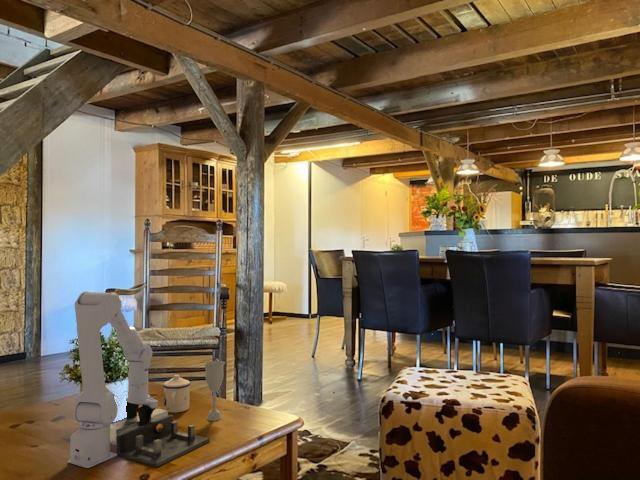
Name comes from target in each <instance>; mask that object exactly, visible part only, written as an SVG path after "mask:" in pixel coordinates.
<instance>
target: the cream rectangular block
mask: <svg viewBox="0 0 640 480" xmlns="http://www.w3.org/2000/svg"><path fill="white" fill-rule="evenodd" d="M166 416H169V412H168V410H164V408H163V409H162V408H155V410H154V411H153V413H152V415H151V417H150V420H149V423H150V422H153V421H156V420H158V419H161V418H163V417H166ZM137 427H140V420H139V415H138V414H137V416H135V417H133V418H130V419H125V420H124V419H123V420H121V421H119V422H117V423H114V424H113V423H112V424H110V445H113V446H117V435H119V434H122V433H124V432H127V431H130V430H132V429H135V428H137Z"/></svg>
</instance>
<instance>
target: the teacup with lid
mask: <svg viewBox="0 0 640 480" xmlns="http://www.w3.org/2000/svg"><path fill="white" fill-rule="evenodd" d="M190 385H191V382H190V380H188V379H185V378H183V377H181V376H180V374H175V375H173V377H172V378H170V379H169V380H166V381H165V382H164V383H163V385H162V387H163V410H168V413H181V412H185V411H188V410H189V408H190Z"/></svg>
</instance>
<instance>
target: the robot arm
mask: <svg viewBox="0 0 640 480" xmlns="http://www.w3.org/2000/svg"><path fill="white" fill-rule="evenodd" d="M121 309H122V300H121V297H120V296H119V295H118V293H116V292H114V291H112V292H97V291H96V292H93V291H91V292H90V291H82V292H81V293H80V294H79V296H77V299H76V300H75V302H74V312H75V323H76V335H77V343H78V353H79V354H78V355H79V365H80V372H81V373H80V374H81V382H82V390H81V391H80V392H79V393H78V394H77V395H76V396H75V398H74V407H73V408H74V409H73V419H74V420H75V422H77V423H78V424H77V425H78V427H80V428H78V429H77V430H76V431H74V432H72V434H71V435H70V439H69V459H68V460H67V463H70V464H73V465H75V466H78V467H82V468H85V469H90V468H92V467H94V466H96V465H99V464H101V463H104V462H106V461H108V460H111V459H113V458H115V457H118V456H117V452H116V453H115V452H112V451H111V444H110V425H113V423H114V421H115V420H116V418H117V415H118V412H119V411H118V409H119V408H118V405H117V404H116V402H115V400H114V394H113V391H111V390H109V389H108V388H107V386H106V381H105V380H106V379H105V372H104V371H105V370H104V361H103V353H102V352H103V351H102V344H101V343H102V341H101V329H102V328H103V327H106V326H107V325H108V324H110V325H111V327H112V328H113V330H115V332H116V333H117V334H116V337H115V339H116V340H117V341H118V343H119V345H120V346H121V348H122V352H123V357H124V356H125V358H126V359H127V360H128V361H129V371H128V370H127V371H128V375H127V377H128V378H127V379H128V381H127V383H128V386H127V392H128V398H126V401H127V406H126V412H127V417H125V418H126V419H125V420H127V419H130V418H133V417H135V416H138V415H139V420H140V426H143V425H145V424H148V423H149V420H150V417H151V415H152V413H153V411H154V409H157V408H158V407H159V400H158V399H154V398H153V397H151V395H150V394H149V368H150V366H151V360H152V358H153V353H154V351H153V349H152V347H151V346H150V345H149V344H148V343H145V342H144V340H143V339H142V337H141V336H140V334H139V332H138V331H137V328H136V327H134V326H131V325H129V324H128V322H127V319H126V318H125V316H124V314H123V311H122V310H121Z"/></svg>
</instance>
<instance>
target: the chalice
mask: <svg viewBox="0 0 640 480" xmlns="http://www.w3.org/2000/svg"><path fill="white" fill-rule="evenodd" d="M225 364H226V361H224V360H209V361H205V362H203V365H204V367H205V381H206V384H207V386H208V389H209V391H210V392H212V397H211V398H212V402H211V404H212V409H210V410H209V412H208V413H207V414H208V415H207V417H206V420H207V421H214V422H215V421H220V420H222V419H223V416H222V414H221V412H220V410H219V409H217V404H218V401H217V398H218V397H217V392H219V390H220V389H221V386H222V383H223V380H224V368H225V367H224V366H225Z"/></svg>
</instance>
